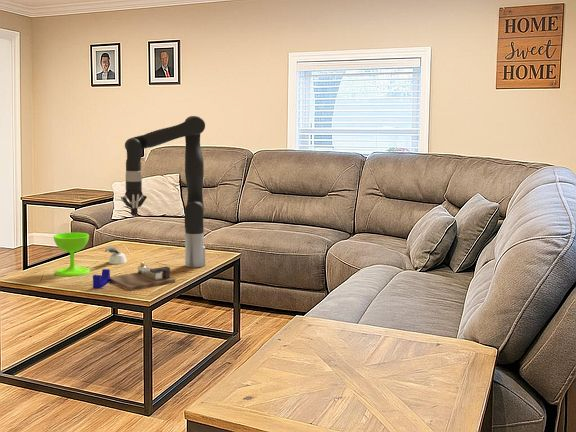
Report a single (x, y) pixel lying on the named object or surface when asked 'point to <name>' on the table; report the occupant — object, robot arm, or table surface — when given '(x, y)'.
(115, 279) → the board
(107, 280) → the cable clip
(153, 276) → the link
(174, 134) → the robot arm
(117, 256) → the inkwell
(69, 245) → the wineglass
